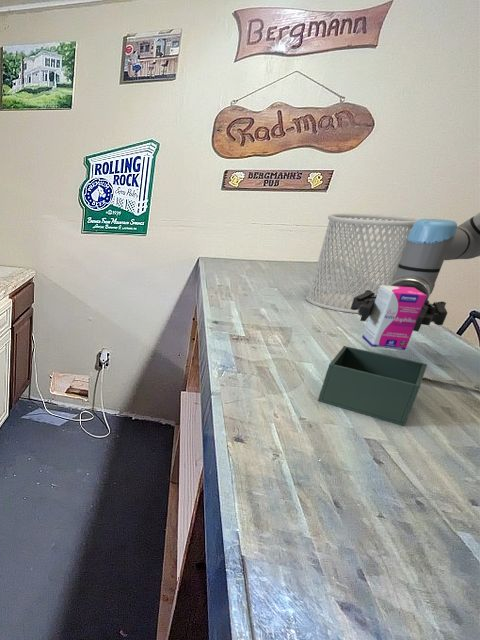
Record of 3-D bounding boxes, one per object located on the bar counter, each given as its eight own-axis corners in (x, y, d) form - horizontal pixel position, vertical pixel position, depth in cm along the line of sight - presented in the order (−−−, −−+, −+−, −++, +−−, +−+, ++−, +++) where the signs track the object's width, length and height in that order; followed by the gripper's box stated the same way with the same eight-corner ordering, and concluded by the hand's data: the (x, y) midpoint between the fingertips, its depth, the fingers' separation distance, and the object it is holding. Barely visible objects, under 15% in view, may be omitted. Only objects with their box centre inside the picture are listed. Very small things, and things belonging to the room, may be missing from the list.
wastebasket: (318, 291, 180) (341, 211, 168) (397, 305, 163) (428, 217, 151) (295, 302, 165) (318, 216, 153) (378, 319, 148) (411, 223, 136)
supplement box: (371, 347, 91) (391, 291, 87) (361, 337, 97) (379, 284, 92) (406, 350, 90) (428, 294, 85) (394, 340, 95) (414, 286, 90)
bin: (412, 400, 98) (427, 364, 94) (403, 426, 88) (420, 386, 85) (332, 379, 107) (343, 345, 104) (317, 400, 98) (329, 364, 94)
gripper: (460, 322, 97) (454, 351, 82) (346, 303, 110) (323, 325, 95) (475, 288, 94) (471, 312, 79) (356, 272, 107) (333, 290, 92)
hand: (390, 319), depth 87 cm, fingers closed on supplement box, 7 cm apart
